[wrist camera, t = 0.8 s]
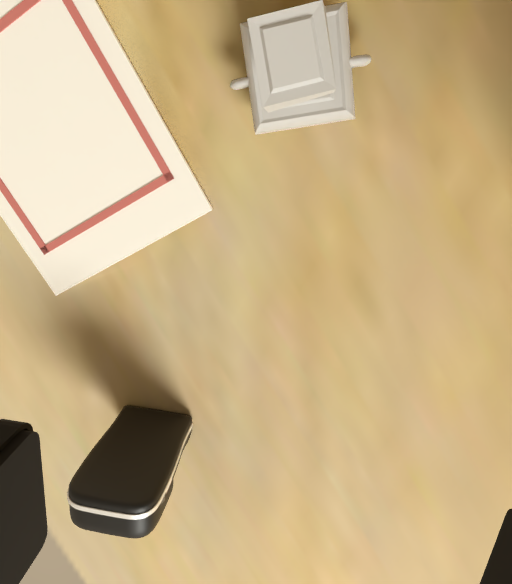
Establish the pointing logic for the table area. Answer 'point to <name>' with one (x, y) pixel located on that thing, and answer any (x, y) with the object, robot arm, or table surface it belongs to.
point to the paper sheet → (82, 144)
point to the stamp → (299, 67)
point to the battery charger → (129, 473)
